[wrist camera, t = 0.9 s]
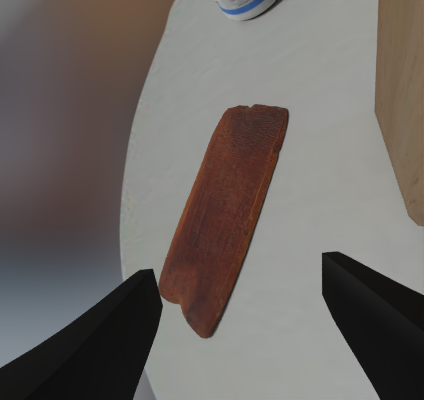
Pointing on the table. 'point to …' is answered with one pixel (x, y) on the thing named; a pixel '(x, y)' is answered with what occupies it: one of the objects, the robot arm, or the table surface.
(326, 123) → the table surface
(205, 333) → the wooden tablet
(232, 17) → the supplement tub
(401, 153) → the block
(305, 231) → the table surface
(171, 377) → the table surface
